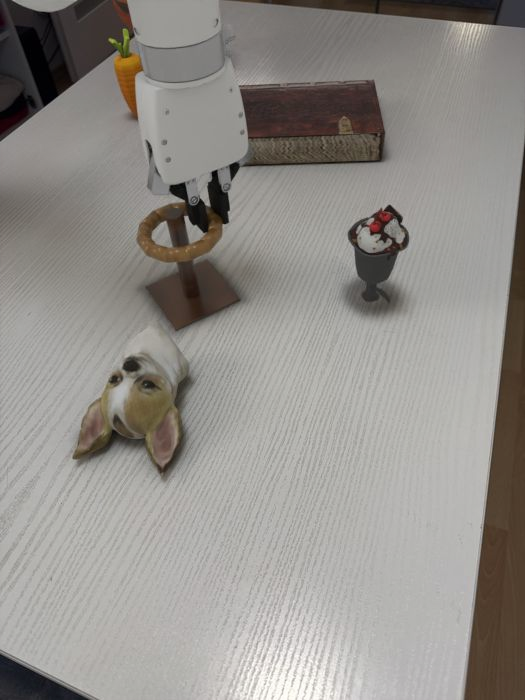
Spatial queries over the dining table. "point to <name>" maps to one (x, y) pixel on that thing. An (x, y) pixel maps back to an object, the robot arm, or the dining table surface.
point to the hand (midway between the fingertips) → (210, 221)
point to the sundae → (377, 248)
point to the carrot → (127, 71)
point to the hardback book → (313, 122)
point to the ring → (178, 253)
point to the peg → (189, 283)
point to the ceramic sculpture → (140, 399)
